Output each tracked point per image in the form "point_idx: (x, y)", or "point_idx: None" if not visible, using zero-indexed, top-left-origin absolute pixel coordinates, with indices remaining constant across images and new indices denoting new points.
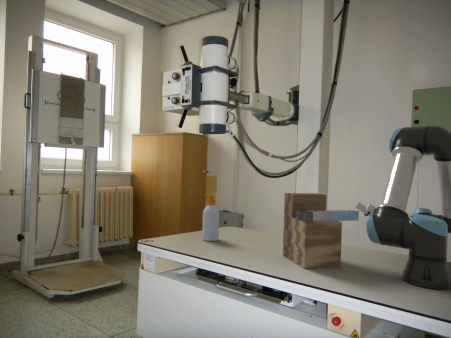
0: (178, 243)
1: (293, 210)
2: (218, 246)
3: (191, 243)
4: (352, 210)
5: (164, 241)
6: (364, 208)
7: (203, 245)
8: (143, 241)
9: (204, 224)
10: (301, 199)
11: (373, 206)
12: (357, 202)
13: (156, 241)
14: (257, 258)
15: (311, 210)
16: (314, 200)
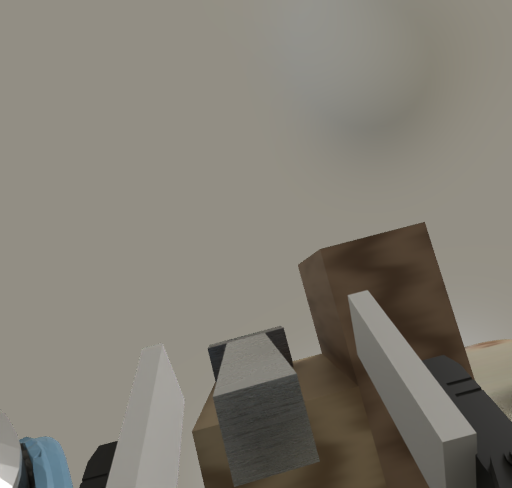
0: (490, 362)
1: (314, 324)
2: (501, 394)
3: (504, 368)
4: (246, 379)
5: (496, 351)
6: (397, 397)
7: (495, 380)
8: (477, 344)
9: None
10: (307, 282)
11: (132, 392)
12: (363, 299)
13: (488, 348)
14: None
15: (256, 337)
16: (317, 284)
